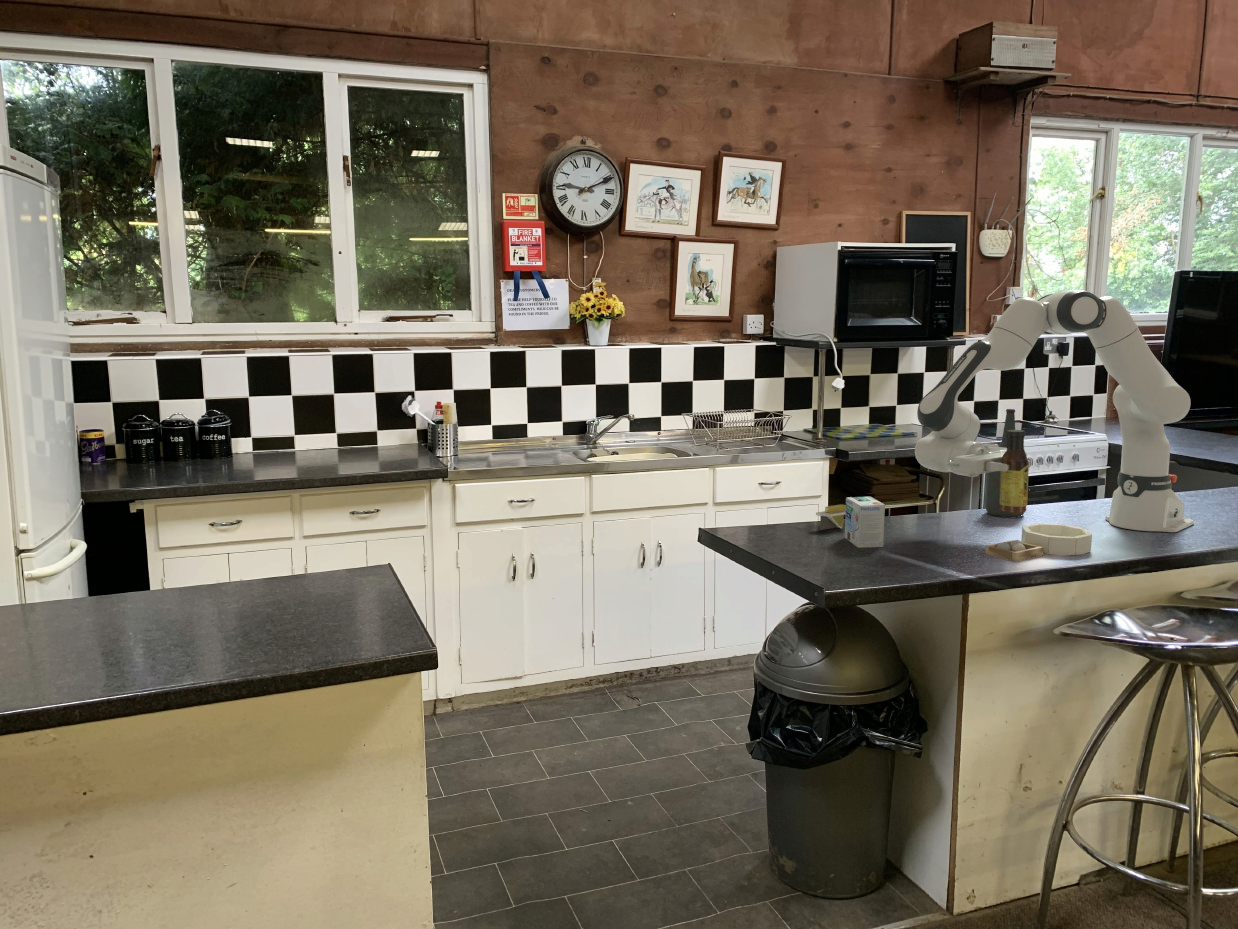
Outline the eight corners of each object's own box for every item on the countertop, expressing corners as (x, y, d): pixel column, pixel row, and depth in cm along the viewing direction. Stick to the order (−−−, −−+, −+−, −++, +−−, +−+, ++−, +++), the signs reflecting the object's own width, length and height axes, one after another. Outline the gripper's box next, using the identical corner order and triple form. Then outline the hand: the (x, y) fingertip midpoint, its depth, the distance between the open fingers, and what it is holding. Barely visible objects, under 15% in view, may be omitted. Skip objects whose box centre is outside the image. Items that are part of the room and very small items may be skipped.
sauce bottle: (1029, 515, 223) (1033, 432, 220) (1001, 514, 224) (1005, 432, 221) (1023, 509, 229) (1027, 428, 226) (996, 508, 231) (1000, 428, 227)
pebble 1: (1001, 552, 220) (1002, 540, 220) (1012, 555, 218) (1013, 543, 217) (993, 554, 219) (994, 542, 218) (1004, 557, 216) (1005, 544, 216)
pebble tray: (1012, 551, 224) (1013, 540, 224) (1042, 558, 217) (1043, 547, 217) (985, 557, 219) (985, 545, 219) (1014, 565, 212) (1015, 553, 212)
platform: (875, 530, 249) (875, 506, 248) (822, 539, 240) (823, 514, 239) (844, 522, 259) (844, 499, 258) (793, 530, 251) (793, 506, 250)
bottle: (1031, 516, 262) (1038, 409, 257) (1004, 519, 259) (1010, 411, 254) (1005, 509, 272) (1011, 406, 267) (977, 512, 268) (983, 408, 263)
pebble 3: (1016, 553, 219) (1017, 541, 219) (1028, 556, 216) (1028, 544, 216) (1008, 555, 218) (1009, 543, 217) (1019, 558, 215) (1020, 545, 215)
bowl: (1046, 540, 234) (1048, 521, 233) (1101, 553, 222) (1103, 532, 221) (1009, 548, 227) (1010, 528, 226) (1063, 561, 215) (1065, 540, 214)
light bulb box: (843, 537, 240) (845, 496, 238) (869, 537, 240) (870, 496, 239) (858, 548, 229) (859, 505, 228) (884, 547, 230) (886, 504, 228)
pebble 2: (1014, 550, 222) (1015, 538, 222) (1026, 553, 220) (1026, 540, 219) (1006, 552, 221) (1007, 539, 220) (1017, 554, 218) (1018, 542, 218)
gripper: (942, 450, 230) (990, 457, 218) (997, 442, 240) (1045, 449, 229) (942, 475, 231) (989, 484, 219) (996, 467, 241) (1044, 474, 230)
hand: (1018, 466), depth 224 cm, fingers closed on sauce bottle, 6 cm apart
